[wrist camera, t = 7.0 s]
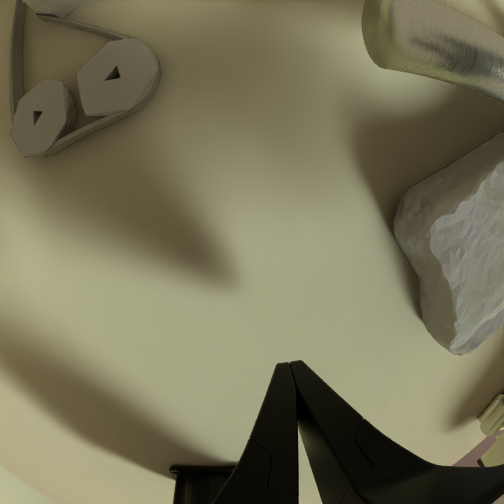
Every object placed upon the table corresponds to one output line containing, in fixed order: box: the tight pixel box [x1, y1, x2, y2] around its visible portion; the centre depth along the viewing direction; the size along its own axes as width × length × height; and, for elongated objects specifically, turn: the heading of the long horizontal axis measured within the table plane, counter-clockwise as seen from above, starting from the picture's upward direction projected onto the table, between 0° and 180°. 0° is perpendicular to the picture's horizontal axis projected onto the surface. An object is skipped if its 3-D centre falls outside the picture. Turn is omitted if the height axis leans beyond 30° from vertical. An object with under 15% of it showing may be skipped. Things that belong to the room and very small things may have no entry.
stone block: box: [393, 131, 504, 356], centre depth 9 cm, size 12×5×10 cm
